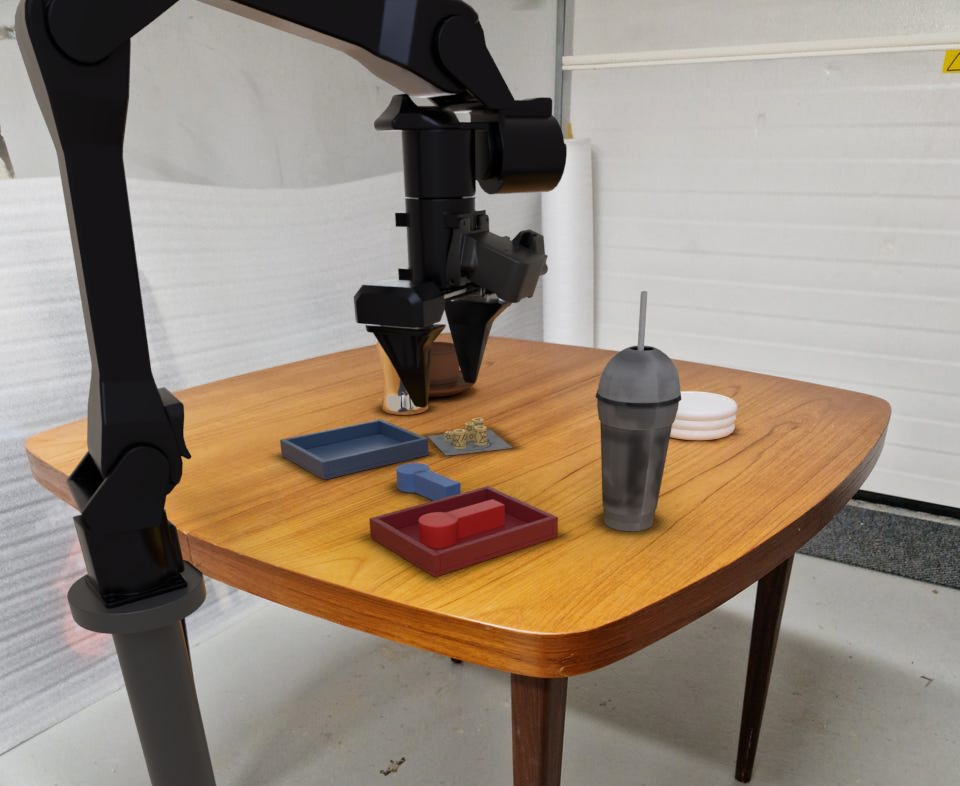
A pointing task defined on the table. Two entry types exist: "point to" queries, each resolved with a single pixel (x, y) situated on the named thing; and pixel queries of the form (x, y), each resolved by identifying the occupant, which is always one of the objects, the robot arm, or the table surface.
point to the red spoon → (460, 523)
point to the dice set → (469, 439)
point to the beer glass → (395, 389)
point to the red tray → (517, 533)
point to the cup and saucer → (445, 371)
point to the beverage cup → (635, 430)
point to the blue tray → (353, 448)
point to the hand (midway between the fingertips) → (446, 394)
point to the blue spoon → (425, 482)
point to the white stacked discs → (704, 416)
